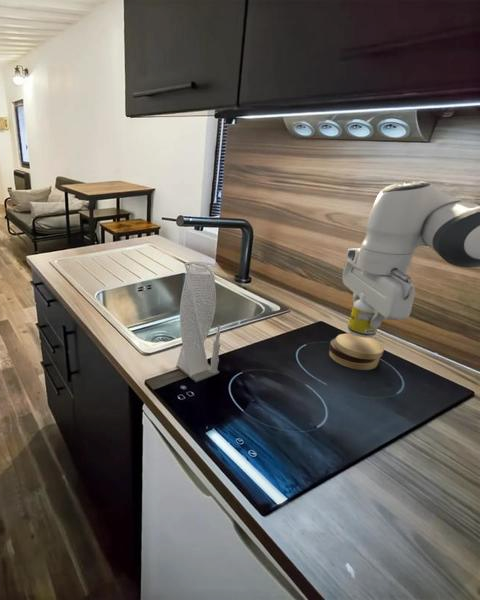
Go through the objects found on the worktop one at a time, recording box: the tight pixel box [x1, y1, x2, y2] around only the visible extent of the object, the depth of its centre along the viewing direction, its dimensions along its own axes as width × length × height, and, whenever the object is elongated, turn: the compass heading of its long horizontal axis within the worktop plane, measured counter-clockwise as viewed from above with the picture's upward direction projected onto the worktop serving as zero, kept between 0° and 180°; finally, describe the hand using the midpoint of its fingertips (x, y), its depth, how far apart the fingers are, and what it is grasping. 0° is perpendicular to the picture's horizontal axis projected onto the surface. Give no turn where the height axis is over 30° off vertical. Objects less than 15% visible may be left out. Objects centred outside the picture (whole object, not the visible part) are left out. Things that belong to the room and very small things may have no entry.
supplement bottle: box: [346, 293, 379, 338], centre depth 83 cm, size 5×5×10 cm
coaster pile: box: [328, 332, 385, 371], centre depth 87 cm, size 10×10×4 cm
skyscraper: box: [175, 261, 222, 383], centre depth 82 cm, size 8×8×28 cm
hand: (365, 318), depth 83 cm, fingers closed on supplement bottle, 5 cm apart
